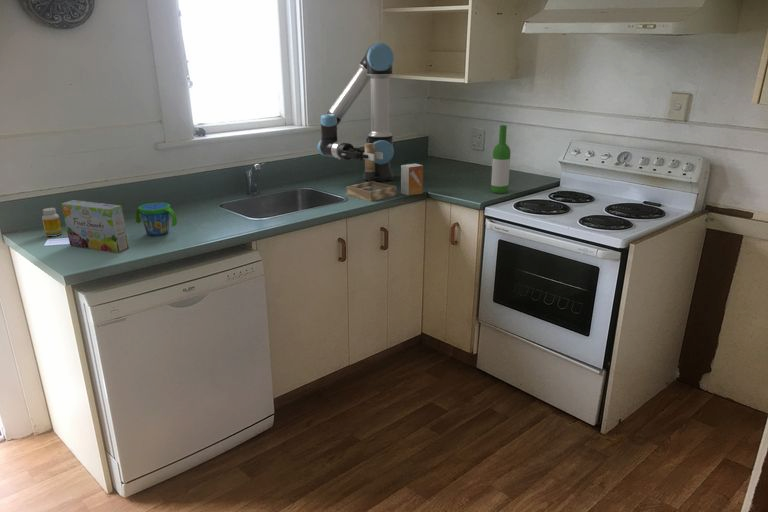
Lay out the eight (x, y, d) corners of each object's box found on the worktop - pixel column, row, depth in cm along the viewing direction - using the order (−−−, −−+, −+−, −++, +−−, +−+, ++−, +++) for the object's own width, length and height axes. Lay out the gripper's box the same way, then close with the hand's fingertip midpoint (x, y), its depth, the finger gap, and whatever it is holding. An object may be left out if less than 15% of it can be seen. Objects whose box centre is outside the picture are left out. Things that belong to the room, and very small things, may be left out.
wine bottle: (511, 192, 269) (515, 126, 259) (496, 194, 266) (500, 126, 256) (501, 189, 276) (505, 124, 266) (487, 190, 273) (491, 125, 263)
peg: (370, 169, 266) (369, 142, 262) (376, 171, 263) (376, 143, 259) (363, 171, 263) (362, 144, 259) (369, 172, 260) (369, 145, 256)
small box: (408, 196, 264) (408, 167, 260) (400, 193, 269) (400, 165, 265) (423, 193, 268) (423, 165, 264) (414, 191, 274) (415, 163, 269)
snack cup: (185, 231, 214) (182, 204, 211) (165, 239, 205) (161, 211, 202) (151, 227, 220) (147, 200, 216) (130, 235, 211) (125, 207, 207)
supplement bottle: (43, 235, 211) (38, 209, 208) (59, 232, 215) (54, 206, 212) (48, 238, 208) (43, 211, 204) (64, 235, 211) (59, 209, 208)
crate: (371, 189, 277) (371, 181, 276) (396, 195, 266) (396, 186, 265) (346, 195, 266) (346, 186, 265) (370, 201, 256) (370, 192, 254)
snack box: (68, 246, 199) (59, 203, 194) (81, 241, 204) (73, 199, 199) (117, 253, 192) (110, 208, 187) (130, 248, 197) (123, 204, 192)
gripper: (357, 156, 279) (392, 162, 264) (328, 161, 268) (363, 168, 252) (357, 140, 277) (392, 145, 261) (328, 144, 266) (363, 150, 250)
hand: (378, 156), depth 257 cm, fingers closed on peg, 4 cm apart
